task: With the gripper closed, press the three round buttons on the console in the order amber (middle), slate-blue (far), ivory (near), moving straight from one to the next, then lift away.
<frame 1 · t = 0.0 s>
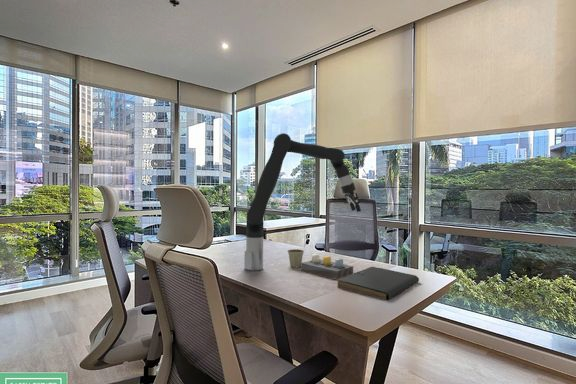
hand: (356, 210, 170), 31 cm above the table, tool tilted 20°, fingers open, 8 cm apart
ivory button: (315, 259, 162), point 5 cm above the table, slide at 0.0 cm
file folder: (378, 286, 137), on the table
console: (326, 272, 157), on the table
slate button: (339, 264, 152), point 6 cm above the table, slide at 0.0 cm
amber button: (327, 261, 157), point 5 cm above the table, slide at 0.0 cm
flower pot: (295, 266, 169), on the table
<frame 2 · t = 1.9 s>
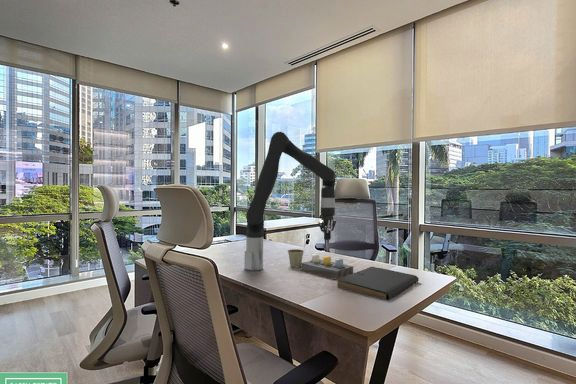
hand: (327, 239, 157), 17 cm above the table, tool pointing down, fingers closed
nothing on the table moved.
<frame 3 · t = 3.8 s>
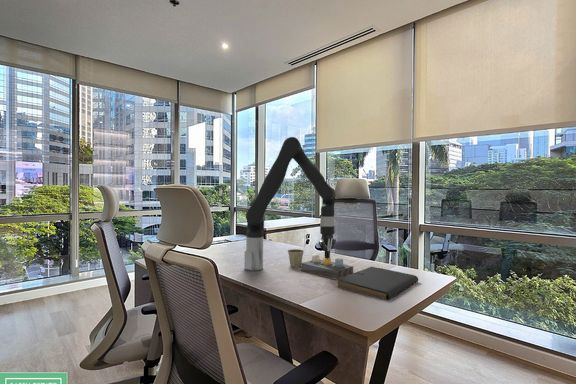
hand: (327, 258, 157), 7 cm above the table, tool pointing down, fingers closed
amber button: (326, 262, 157), point 5 cm above the table, slide at 0.7 cm, touching gripper
everything else where it was.
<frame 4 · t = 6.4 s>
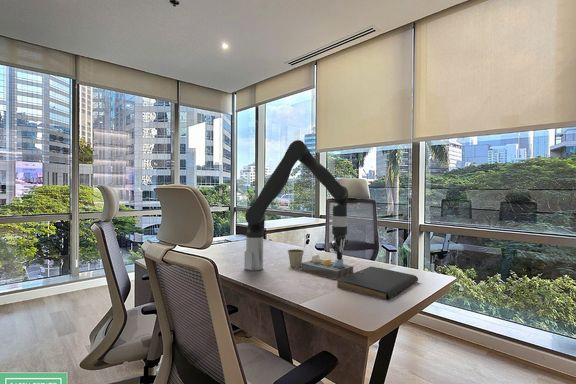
hand: (339, 259, 152), 8 cm above the table, tool pointing down, fingers closed
slate button: (339, 264, 152), point 5 cm above the table, slide at 0.1 cm, touching gripper
amber button: (326, 264, 157), point 4 cm above the table, slide at 1.4 cm
everything else where it was.
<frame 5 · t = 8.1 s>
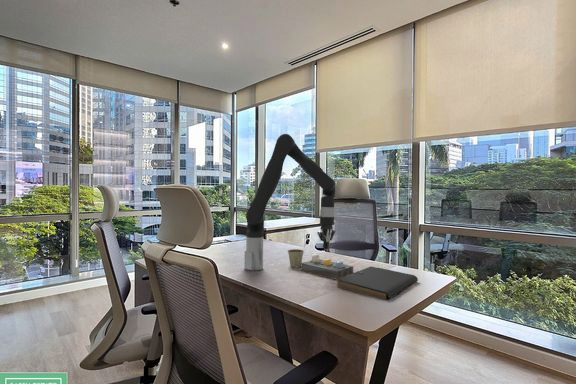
hand: (325, 248, 157), 12 cm above the table, tool pointing down, fingers closed
slate button: (339, 267, 152), point 4 cm above the table, slide at 1.4 cm
everything else where it was.
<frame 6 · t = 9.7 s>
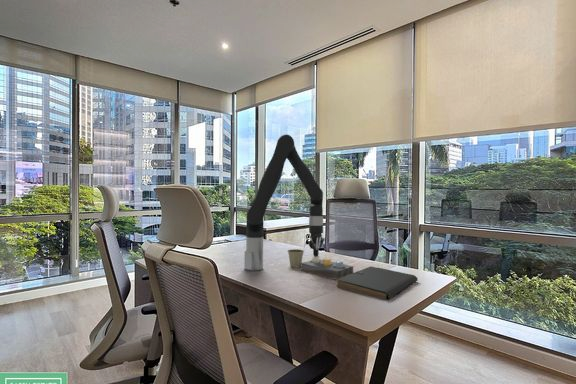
hand: (315, 256, 162), 7 cm above the table, tool pointing down, fingers closed
ivory button: (315, 260, 162), point 5 cm above the table, slide at 0.9 cm, touching gripper
everything else where it was.
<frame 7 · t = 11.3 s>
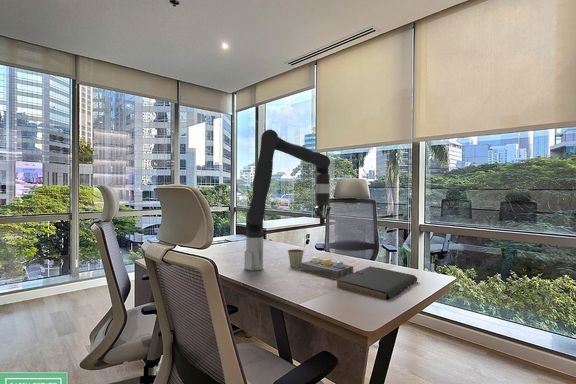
hand: (322, 224, 164), 24 cm above the table, tool pointing down, fingers closed
ivory button: (315, 262, 162), point 4 cm above the table, slide at 1.4 cm
everything else where it was.
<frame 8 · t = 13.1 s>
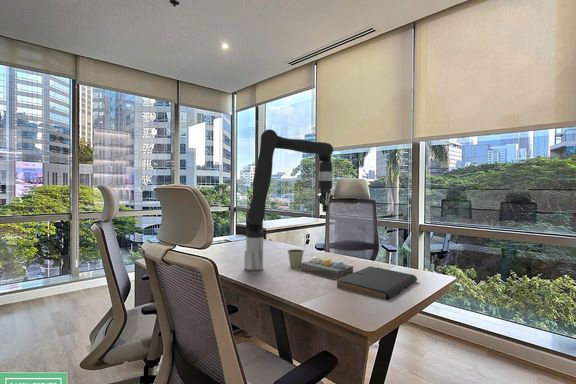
hand: (325, 211, 166), 31 cm above the table, tool pointing down, fingers closed
nothing on the table moved.
at the end: amber button slide at 1.4 cm; slate button slide at 1.4 cm; ivory button slide at 1.4 cm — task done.
